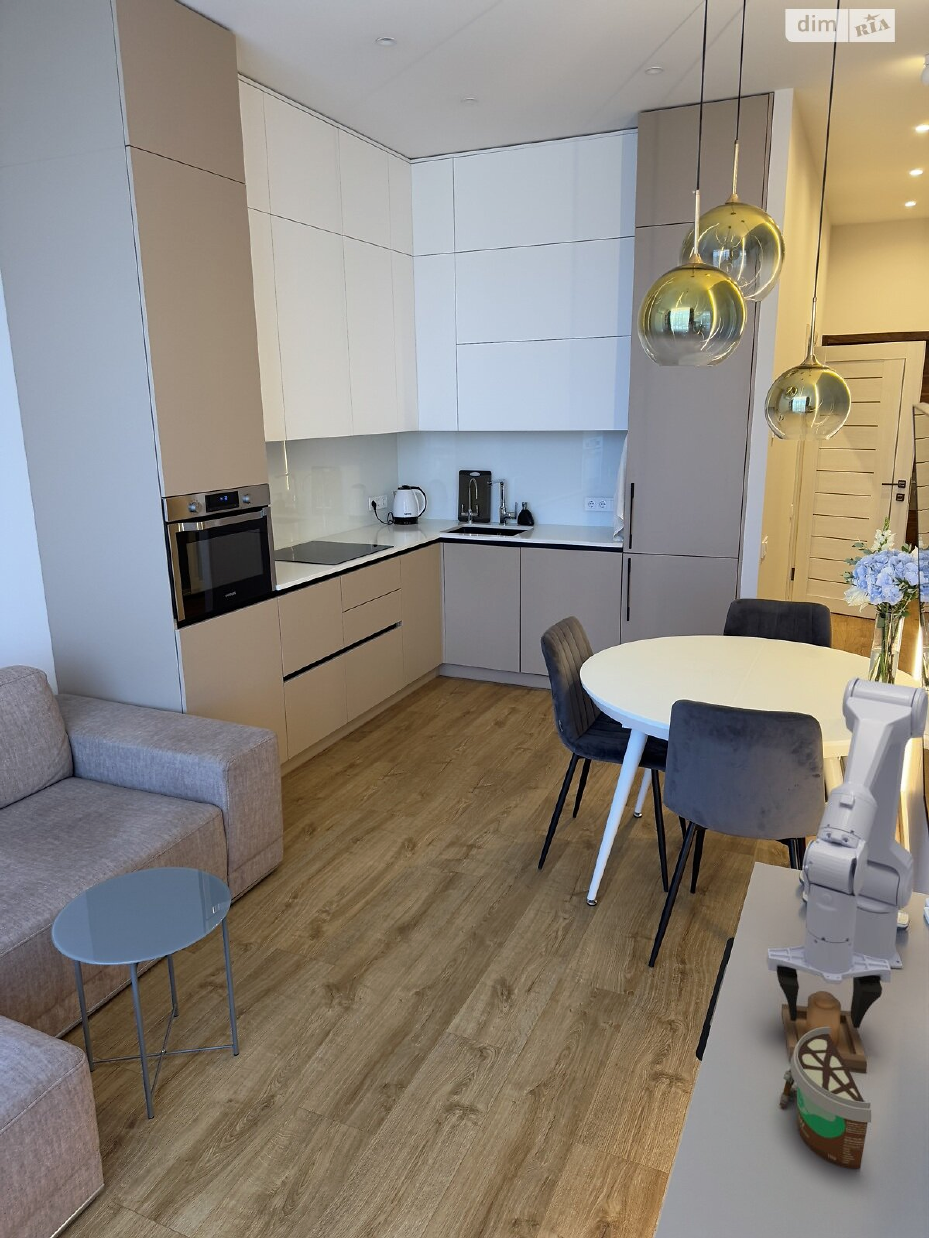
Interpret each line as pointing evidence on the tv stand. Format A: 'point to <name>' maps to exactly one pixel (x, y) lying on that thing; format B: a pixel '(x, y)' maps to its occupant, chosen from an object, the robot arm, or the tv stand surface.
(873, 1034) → the tv stand surface
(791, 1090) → the wooden post with brackets
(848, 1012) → the tray
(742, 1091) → the tv stand surface
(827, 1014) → the wooden dowel peg
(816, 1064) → the food container
